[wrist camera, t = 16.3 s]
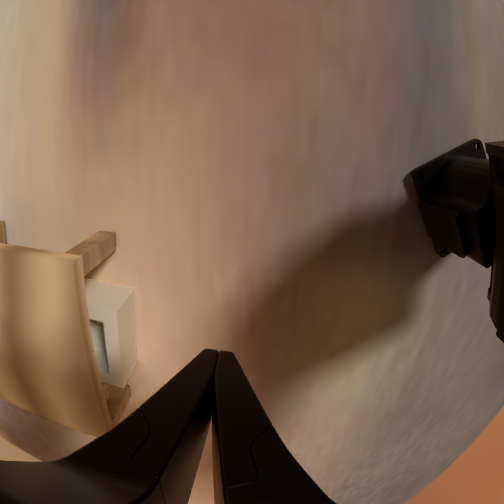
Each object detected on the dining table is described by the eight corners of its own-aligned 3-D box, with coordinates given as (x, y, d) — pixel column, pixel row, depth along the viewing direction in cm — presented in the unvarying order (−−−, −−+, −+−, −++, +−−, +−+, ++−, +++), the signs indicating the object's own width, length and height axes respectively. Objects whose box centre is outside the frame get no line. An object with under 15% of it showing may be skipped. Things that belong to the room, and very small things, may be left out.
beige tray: (135, 287, 21) (116, 311, 17) (138, 359, 23) (124, 388, 19) (27, 263, 20) (1, 281, 17) (38, 331, 22) (18, 352, 19)
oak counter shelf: (115, 232, 19) (73, 262, 14) (130, 394, 24) (110, 440, 18) (-5, 220, 19) (-51, 240, 14) (25, 363, 23) (-3, 396, 18)
